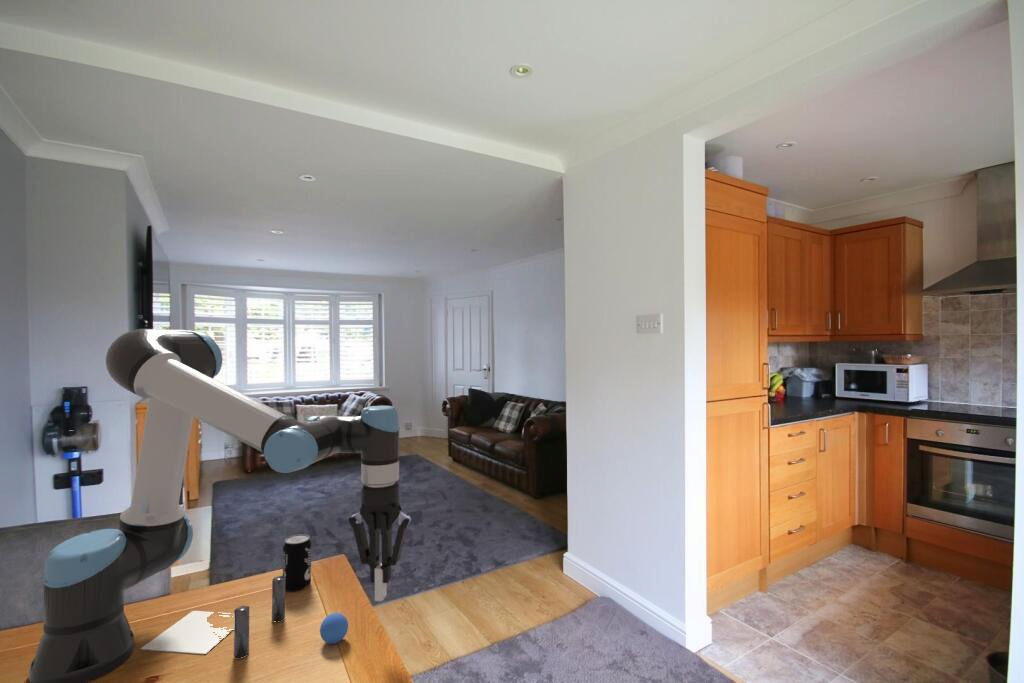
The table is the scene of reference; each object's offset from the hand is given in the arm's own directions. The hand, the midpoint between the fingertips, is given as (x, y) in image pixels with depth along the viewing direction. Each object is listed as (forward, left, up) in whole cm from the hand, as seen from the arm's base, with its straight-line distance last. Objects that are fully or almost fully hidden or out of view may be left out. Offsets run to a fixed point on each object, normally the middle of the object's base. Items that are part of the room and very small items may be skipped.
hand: (380, 597), depth 100 cm
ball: (-10, 0, -7) cm, 12 cm away
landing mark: (-40, 0, -10) cm, 41 cm away
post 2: (-26, +6, -10) cm, 28 cm away
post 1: (-26, -6, -10) cm, 28 cm away
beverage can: (-30, +21, -10) cm, 38 cm away
